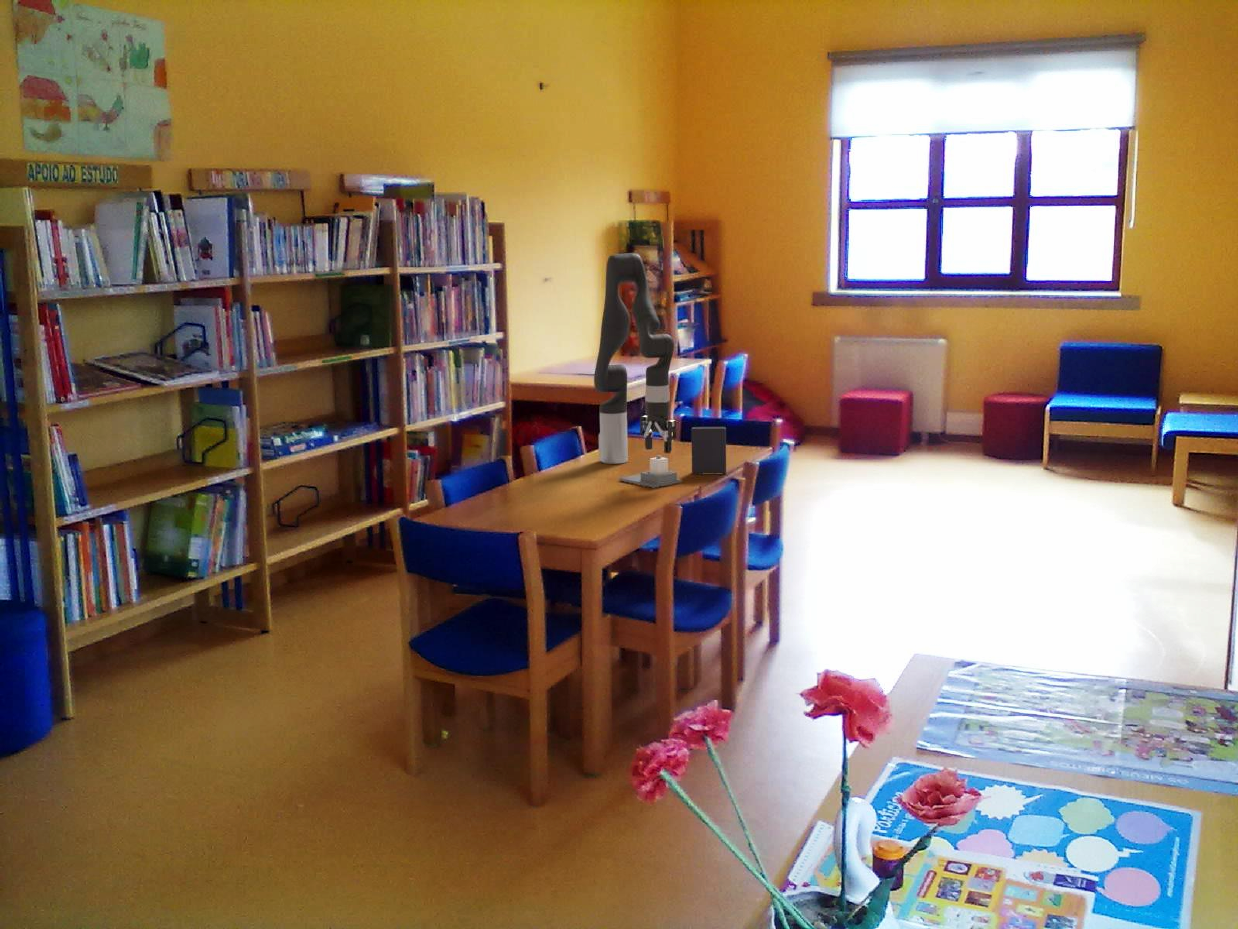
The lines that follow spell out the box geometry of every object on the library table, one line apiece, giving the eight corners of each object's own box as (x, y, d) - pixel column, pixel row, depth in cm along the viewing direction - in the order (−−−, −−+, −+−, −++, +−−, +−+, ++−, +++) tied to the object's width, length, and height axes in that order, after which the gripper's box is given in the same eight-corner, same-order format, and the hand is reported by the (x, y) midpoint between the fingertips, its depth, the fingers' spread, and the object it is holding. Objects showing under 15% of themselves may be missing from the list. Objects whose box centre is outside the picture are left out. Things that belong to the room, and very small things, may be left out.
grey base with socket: (619, 481, 379) (618, 470, 378) (647, 475, 387) (647, 464, 386) (653, 488, 367) (652, 477, 366) (681, 482, 375) (681, 471, 374)
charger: (650, 480, 374) (649, 455, 372) (659, 478, 376) (659, 454, 375) (658, 482, 371) (658, 457, 369) (668, 480, 373) (667, 455, 372)
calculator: (726, 471, 389) (725, 426, 387) (726, 474, 385) (725, 428, 382) (692, 472, 391) (691, 426, 388) (691, 474, 386) (691, 428, 383)
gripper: (633, 398, 372) (634, 449, 375) (664, 403, 361) (665, 456, 364) (651, 395, 377) (651, 446, 380) (682, 400, 366) (682, 452, 369)
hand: (658, 451), depth 372 cm, fingers open, 8 cm apart
